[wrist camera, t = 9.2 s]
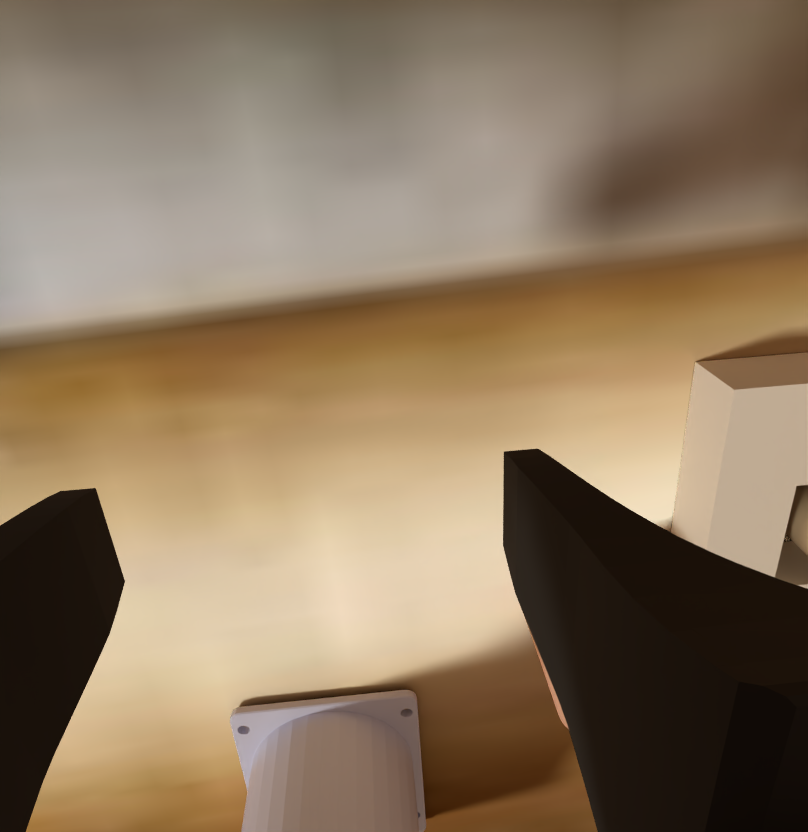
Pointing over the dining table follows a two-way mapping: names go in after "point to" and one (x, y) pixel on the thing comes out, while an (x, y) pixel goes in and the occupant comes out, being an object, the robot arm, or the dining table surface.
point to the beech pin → (799, 519)
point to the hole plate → (745, 461)
